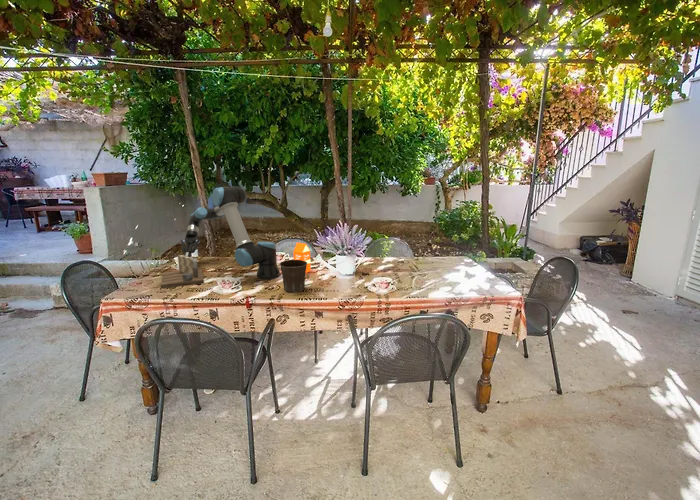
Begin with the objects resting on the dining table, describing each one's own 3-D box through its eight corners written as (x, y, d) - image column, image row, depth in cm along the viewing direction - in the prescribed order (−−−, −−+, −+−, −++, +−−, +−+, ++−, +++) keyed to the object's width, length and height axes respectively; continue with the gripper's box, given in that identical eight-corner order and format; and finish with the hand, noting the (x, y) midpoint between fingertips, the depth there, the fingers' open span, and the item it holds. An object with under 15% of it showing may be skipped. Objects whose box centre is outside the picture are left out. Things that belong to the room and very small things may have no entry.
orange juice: (303, 273, 250) (302, 244, 245) (293, 271, 255) (292, 243, 250) (311, 270, 256) (310, 242, 251) (301, 268, 261) (300, 241, 256)
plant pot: (310, 292, 214) (309, 265, 210) (282, 295, 209) (281, 268, 206) (305, 283, 229) (304, 258, 225) (279, 286, 224) (278, 260, 221)
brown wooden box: (203, 283, 230) (201, 261, 227) (161, 288, 221) (158, 266, 218) (202, 271, 255) (200, 251, 252) (163, 275, 246) (161, 255, 243)
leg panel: (196, 275, 239) (194, 258, 236) (193, 275, 237) (191, 259, 234) (182, 270, 248) (180, 254, 246) (179, 271, 247) (177, 255, 244)
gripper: (203, 235, 268) (197, 263, 255) (184, 235, 267) (178, 264, 254) (200, 229, 261) (194, 258, 249) (181, 229, 260) (174, 258, 248)
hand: (186, 261), depth 252 cm, fingers closed
